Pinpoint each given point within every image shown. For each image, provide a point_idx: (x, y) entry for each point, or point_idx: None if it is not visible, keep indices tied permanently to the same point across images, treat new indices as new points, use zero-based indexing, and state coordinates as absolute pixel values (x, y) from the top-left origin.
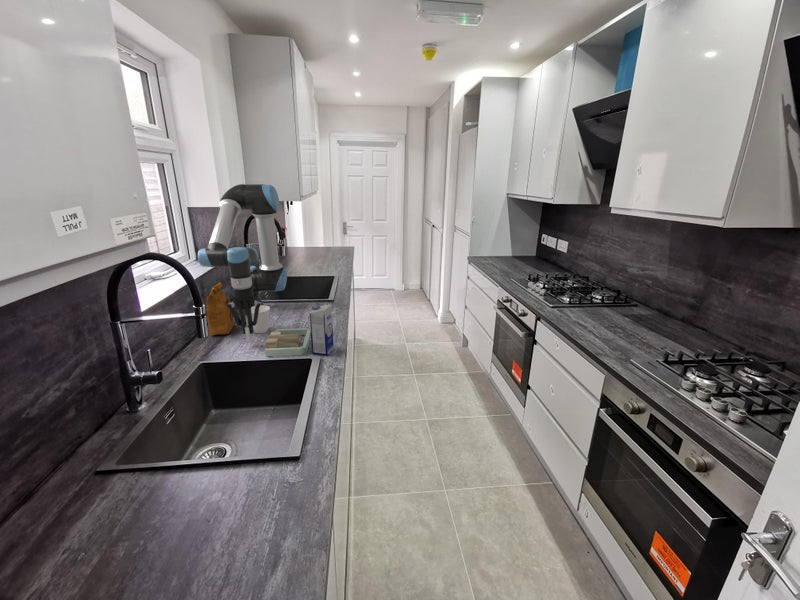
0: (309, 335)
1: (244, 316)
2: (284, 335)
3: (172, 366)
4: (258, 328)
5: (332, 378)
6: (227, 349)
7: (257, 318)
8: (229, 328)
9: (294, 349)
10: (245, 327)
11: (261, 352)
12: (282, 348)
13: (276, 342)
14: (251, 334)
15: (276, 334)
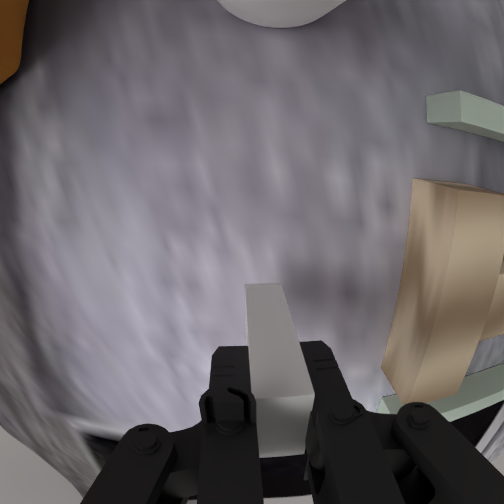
0: None
1: None
2: None
3: (8, 421)
4: (282, 14)
5: (498, 450)
6: (109, 323)
7: (471, 471)
8: (5, 38)
9: (497, 400)
10: (261, 455)
11: (352, 372)
12: (464, 410)
13: (460, 376)
14: (288, 310)
15: (484, 266)
